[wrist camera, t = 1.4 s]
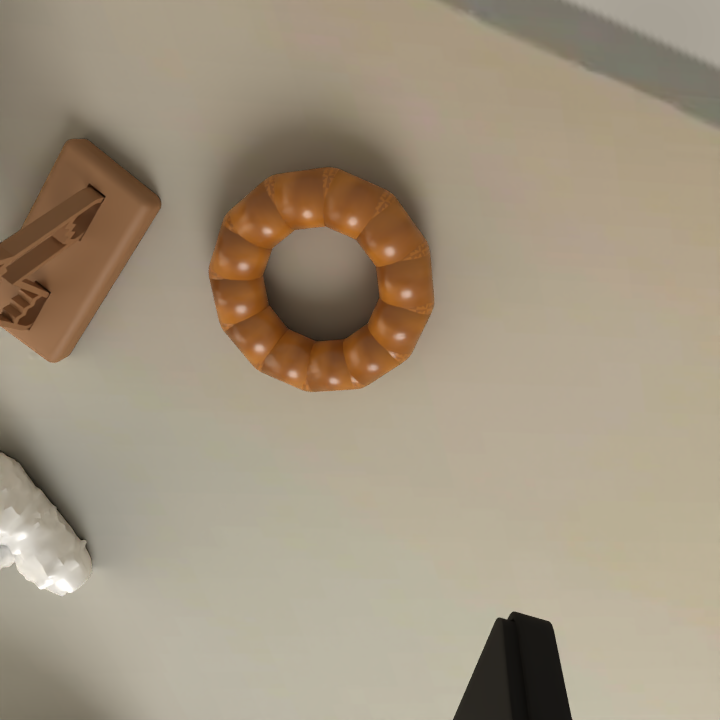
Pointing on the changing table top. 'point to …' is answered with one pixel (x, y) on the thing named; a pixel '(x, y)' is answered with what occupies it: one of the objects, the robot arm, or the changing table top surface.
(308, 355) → the donut
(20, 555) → the sitting furry creature
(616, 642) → the changing table top surface
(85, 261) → the gingerbread man figurine
